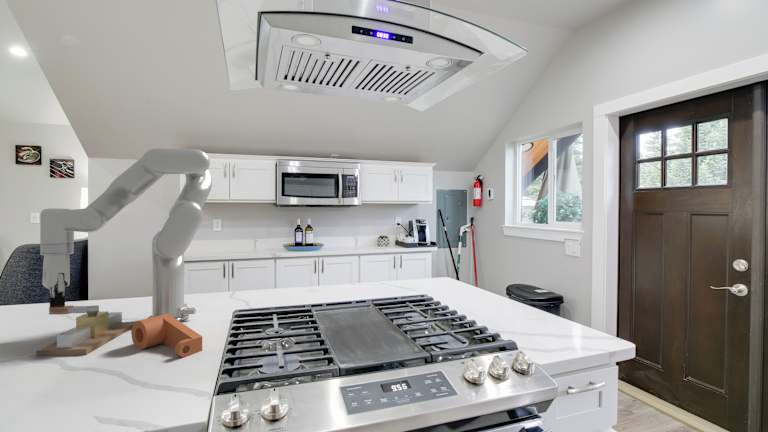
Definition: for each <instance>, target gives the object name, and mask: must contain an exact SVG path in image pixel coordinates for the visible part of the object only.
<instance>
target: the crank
mask: <svg viewBox="0 0 768 432" xmlns="http://www.w3.org/2000/svg"><path fill="white" fill-rule="evenodd" d="M134 322H135V323H134V324H133V326H132V329H131V331H130V332H131V340H132V343H133V345H134V346H135V348H136V349H139V350H145V349H148V348H152V347H155V346H157V345H160V344H163V345H165V346H168V347H172V348H174V350H173V351H174V354H175V355H176V356H178V357H181V358H185V357H188V356H192V355H194V354H198V353H201V352H202V351H203V336H202V335H201V334H199V333H197V332H196V331H195V330H193V329H192V328H190V327H189V326H187V325H186V324H185V323H183V322H181V321H178V320H177V319H175V318H174V317H172V316H171V315H169V314H164V315H160V316H155V317H151V318H148V317H147V318H143V319H139V320H136V321H134Z"/></svg>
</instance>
